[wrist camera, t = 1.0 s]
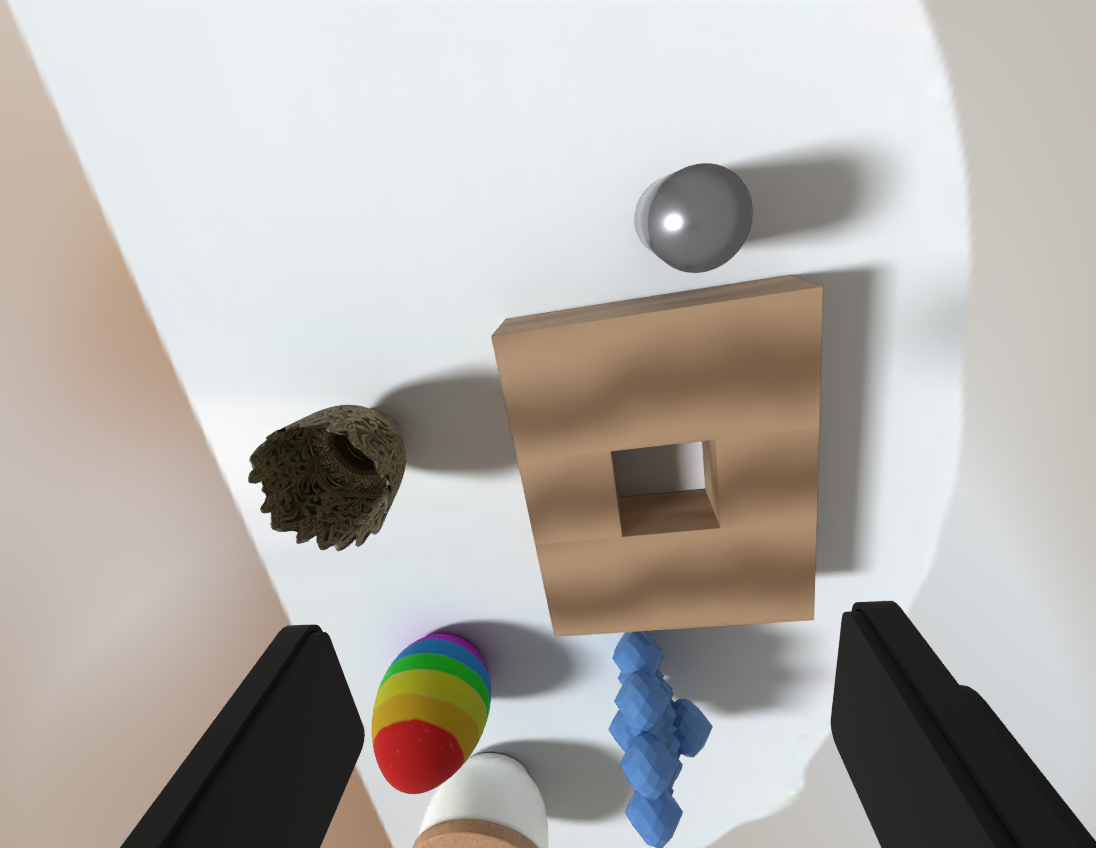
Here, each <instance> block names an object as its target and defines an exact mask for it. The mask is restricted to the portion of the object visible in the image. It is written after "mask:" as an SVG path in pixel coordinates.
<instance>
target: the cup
mask: <svg viewBox="0 0 1096 848" xmlns="http://www.w3.org/2000/svg"><path fill="white" fill-rule="evenodd" d="M266 439H267V440H266V441H265V442H264V443H263V444H261V445H260V446H259V447H258V448H257V449H256V450H255V451H254V453H253V454H252V455H251V457H250V460H249V461H250V463H251V464H252V467H253V470H252V471H251V472H250V473H249V477H248V482H249V483H255V484H257V483H258V482H260V481H262V482H261V483H262V485H263V487H262V492H264V493H265V495H266V499H265V502H264V503H263V505H262V506H261V508H260V510H261V512H262V513H269V512H271V524H270V525H271V528H272V529H273V530H276V531H278V532H287V531H296V532H298V534H297V536H296V538H297V540H296V543H297V544H300V543H304V542H308V541H309V540H310V539H311V538H313V537H315V536H317V541H316V542H317V543H318V546H319V548H320V550H326V549H328V548H329V547H330V546H334V547H335V548H336V550H337V551H341V550H343V549H345V548H346V547H348V546H349V545H350V544H351V543H352V542H353V541H354V540H356V544H355V545H356V546H357V547H358V546H360V545H362V544H363V543H364V542H365V540H366V539H367V537H368V536H369V535H370V534H373V533H374V534H373V535H375V534H377V533H378V532H379V531H380V529H381V527H382V525H383V523H384V520H385V518H386V516H387V513H388V511H389V509H390V507H391V505H392V503H393V500H394V498H395V496H396V494H397V491H398V489H399V487H400V484H401V482H402V478H403V475H404V471H405V465H406V453H405V447H404V443H403V441H402V438H401V436H400V434H399V431H398V428H397V426H396V424H395V423H394V421H393V420H392V419H391V418H390V417H388V416H387V415H386V414H384V413H382V412H379V411H375V410H372V409H369V408H366V407H362V406H356V405H339V406H334V407H330V408H327V409H324V410H321V411H318V412H316V413H313V414H311V415H309V416H307V417H305V418H303V419H300V420H298V421H296V422H294V423H292V424H290V425H288V426H286V427H284V428H282V429H280V430H277V431H275V432H273V433H272V434H270V435H269V436H267V437H266ZM356 538H357V539H356Z"/></svg>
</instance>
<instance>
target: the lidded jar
mask: <svg viewBox="0 0 1096 848" xmlns="http://www.w3.org/2000/svg"><path fill="white" fill-rule="evenodd" d="M548 847H549V835H548V822H547V814H546V809H545V805H544V801H543V798H542V796H541V794H540V791H539V789H538V787H537V786H536V784H535V783H534V781H533V780H532V779H531V777H530V776H529V774H528V772H527V770H526V768H525V767H524V766H523V765H522V764H521V763H520V762H518V761H517V760H515V759H514V758H512V757H509V756H507V755H503V754H499V753H481V754H477V755H474V756H472V757H471V758H469V759H468V760H467V761H466V762H465V763H464V764H463V766H462V767H461V768H460V769H459V770H458V771H457V772H456V773H455V774H454V775H453V776H452V777H451V778H449V779H448V780H447V781H445V782H444V783H442V784H441V785H439V787H438V788H437V790H436V791H435V793H434V795H433V797H432V799H431V801H430V803H429V805H428V807H427V810H426V812H425V815H424V817H423V820H422V823H421V826H420V829H419V833H418V836H417V839H416V841H415V843H414V845H413V848H548Z"/></svg>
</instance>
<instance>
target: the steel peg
mask: <svg viewBox="0 0 1096 848" xmlns="http://www.w3.org/2000/svg"><path fill="white" fill-rule="evenodd" d="M752 213H753V210H752V202H751V197H750V194H749V192H748V189H747V188H746V186H745V184H744V183H743V181H742V180H741V179H740V178H739V177H738V176H737V175H736V174H735V173H734V172H732V171H731V170H729V169H727V168H725V167H723V166H720V165H716V164H709V163H703V164H695V165H692V166H688V167H686V168H684V169H681V170H679V171H677V172H675V173H672V174H670V175H668V176H666V177H663V178H661V179H659V180H657V181H656V182H654V183H653V184H651V185H650V186H649V187H648V188H647V189H646V190H645V191H644V193H643V194H642V196H641V197H640V199H639V201H638V204H637V207H636V211H635V228H636V231H637V234H638V236H639V238H640V240H641V242H642V243H643V244H644V245H645V246H646V247H647V248H648V249H649V250H650V251H652V252H653V253H654V254H655V255H657V256H658V257H659V258H660V259H662V260H663V261H664V262H665V263H667V264H668V265H670V266H671V267H673V268H675V269H677V270H680V271H684V272H689V273H699V272H706V271H710V270H712V269H715V268H717V267H719V266H721V265H723V264H724V263H726V262H727V261H729V260H730V259H731V258H732V257H733V256H734V255H735V254H736V253H737V252H738V251H739V249H740V248H741V247H742V245H743V244H744V242H745V240H746V238H747V236H748V234H749V231H750V227H751V223H752Z"/></svg>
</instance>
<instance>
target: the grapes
mask: <svg viewBox="0 0 1096 848" xmlns="http://www.w3.org/2000/svg"><path fill="white" fill-rule="evenodd" d="M614 653H615V654H614V656H613V658H612V659H613V660H614V661H615V663H616V664H617V666H618V667H619V669H620V670H621V673H620V675H619V677H618V679H619V681H620V682H621V684H622V687H621V689H620V691H619V693H618V695H617V697H616V699H615V701H614V702H615V703H616V705H617V706H618V708H619V710H618V712H617V714H616V715H615V717H614V719H613V721H612V723H611V725H610V727H609V731H610V732H611V734H612V736H613V737H614V739H615V740H616V741H617V743H618V744H619V745H620V747H621V748H622V749H623V750H624V751H625V754H624V756H623V759H622V761H621V763H620V767H621V769H622V770H623V772H624V773H625V775H626V777H627V778H626V779H627V780H628V782H629V784H630V785H631V787H632V789H633V790H634V791H635V792H634V794H633V796H632V798H631V800H630V802H629V805H628V807H627V809H626V811H625V813H626V815H627V817H628V818H629V820H630V822H631V823H632V825H633V826H634V828H635V829H636V830H637V832H638V833H639V834H640V836H641V837H642V838H643V840H644V841H645V842H646V844H648V845H650V846H653V847H656V848H663V847H664V846H665V844H666V843H667V842H668V841H669V840H670V839H671V838H672V837H673V834H674V832H675V830H676V827H677V825H678V823H679V820H680V818H681V816H682V813H683V811H682V810H681V808H680V807H679V805H678V804H677V802H676V801H675V799H674V798H673V797H672V794H673V789H672V786H673V784H674V782H675V780H676V779H677V777H678V775H679V773H680V771H681V769H682V765H683V764H682V763H681V762H680V761H679V757H680V755H681V754H682V755H684V756H686V757H694V756H695V755H697V754H698V753H699V752H700V750H701V749H702V748H703V747H704V745H705V743H706V741H707V738H708V736H709V734H710V731H711V729H712V727H713V726H712V725H711V724H710V722H709V721H708V720H707V718H706V717H705V716H704V714H703V713H702V712H701V711H700V710H699V708H698V707H697V706H695V705H694V704H693V703H692V702H691V701H689V700H687V699H678V700H677V701H675V702H674V701H673V700H672V699H671V698H672V696H673V692H672V691H671V690H672V688H671V687H670V686H669V685H668V683H667V682H666V681H665V680H664V679H663V677H664V676H663V675H662V673H661V672H660V671H659V669H658V667H659V665H660V663H661V661H662V658H663V655H662V653H661V648H660V647H659V646H658V644H657V643H656V642H655V641H654V639H653V638H652V637H651V636H650V634H649V633H647V632H646V631H636V632H625V633H624V635H623V636H622V638H621V640H620V641H619V643H618V645H617V647H616V649H615V651H614Z"/></svg>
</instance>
